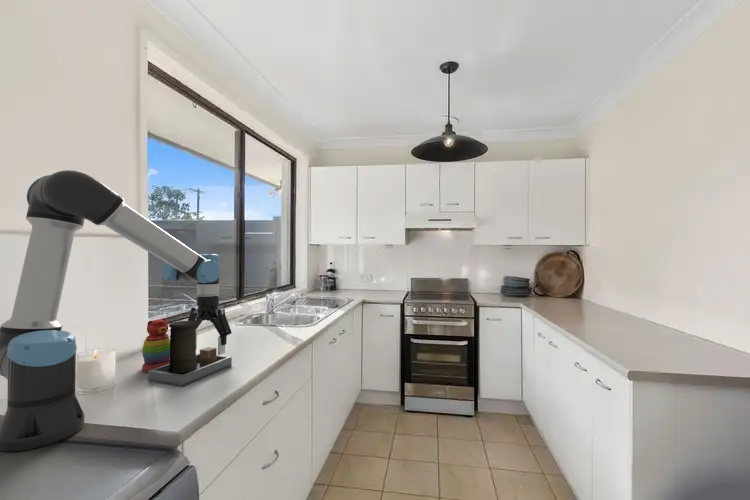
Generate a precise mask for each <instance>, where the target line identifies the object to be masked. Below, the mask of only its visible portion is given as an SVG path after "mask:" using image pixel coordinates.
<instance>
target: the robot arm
mask: <svg viewBox="0 0 750 500" xmlns="http://www.w3.org/2000/svg"><path fill="white" fill-rule="evenodd" d="M26 201H27V205H28V207H27V212H26V217H25V220H26V221H27V222H29V224H30V225H31V231H30V235H29V239H28V243H27V247H26V252H25V257H24V261H23V265H22V270H21V274H20V278H19V283H18V285H17V286H18V287H17V290H16V291H17V292H16V295H15V300H14V304H13V308H12V312H11V317H10V318H9V319H8V320H6V321H4V322H2V323H1V324H0V376H2V377H4V378H5V379H6V380H7V404H6V405H7V408H6V411H5V414H4V416H3V419H2V421H1V422H0V452H7V453H8V452H9V453H10V452H21V451H26V450H27V451H29V450H33V449H38V448H42V447H45V446H48V445H52V444H55V443H57V442H60V441H62V440H65V439H67V438H69V437H71V436H73V435H74V434H76V433H78V432H79V431H80V430H82V429H83V428H84V426H85V413H84V410H83V409H82V407H81V405H80V402H79V400H78V398H77V395H76V368H77V367H76V366H77V363H76V358H77V350H78V345H77V343H76V335H74V334H73V333H72V332H71V331H67V330H62V328H63V324H61V322H60V321H59V320H58V319H57V318H58V313H59V308H60V303H61V298H62V294H63V289H64V284H65V280H66V275H67V270H68V265H69V260H70V256H71V251H72V246H73V242H74V237H75V233H76V232H77V231H80V230H81V229H83V228H84V224H85V220H88V221H89V222H91V223H93V224H94V225H95V226H105V227H107V228H109V229H110V230H111V231H113V232H115V233H117V234H118V235H120V236H122V237H123V238H125V239H127V240H128V241H130V242H131V243H132V244H135V245H136V246H138V247H140V248H141V249H143V250H145V251H146V252H147V253H149V254H152V255H153V256H155V257H156V258H158V259H159V260H161V261H162V262H163V263H162V266H161V275H162V278H163V280H165V281H167V282H178V281H179V282H194V283H196V295H197V296H196V306H192V307H191V308H190V314H189V317H188V319H187V321H196V322H197V325H196V329H195V330H196V349H197V341H198V340H197V339H198V337H197V336H198V332H197V330H198V329H199V327H200V325H201V324H202V322H203V321H207V322H208V321H209V322H210V323H212V325H213V327H214V328H215V330H216V331H217V332H218V337H217V339H218V340H217V342H218V343H217V355H220V356H222V355H224V354H226V345H227V337H228V336H229V335H231V334H232V330H231V326H230V325H229V321H228V319H227V315H226V310H225V308H219V309H218V306H219V304H220V296H219V294H220V275H221V263H220V262H221V260H220V256H219V254H215V253H212V254H211V253H210V254H209V253H208V254H207V253H203V254H202V253H200V254H199V253H197V252H196V251H194V250H192V249H191V248H190V247H188V246H187V245H186V244H185V243H182V241H180V240H179V239H177V238H175V237H174V236H172V235H171V234H169V233H168V232H167V231H165V230H164V229H162V228H161V227H159V226H158V225H156V224H155V223H153V222H152V221H151V220H149V219H148V218H146V217H144V216H143V215H141V214H140V213H139V212H137V211H136V210H134V209H133V208H131V206H128V205H127V204H126V203H125V198H124V197H122V196H121V195H119V194H118V193H117V192H115V191H114V190H112V189H111V188H109V186H107V185H106V184H104V183H103V182H100V180H97V179H96V178H94V177H92V176H90V174H89V175H88V174H86V173H84V172H82V171H77V170H70V169H67V170H59V171H57V172H54V173H52V174H49V175H44V176H41V177H40V178H37V179H36V180H35V181H33V182H32V183H31V184H30V186H28V189H27V192H26Z"/></svg>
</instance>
